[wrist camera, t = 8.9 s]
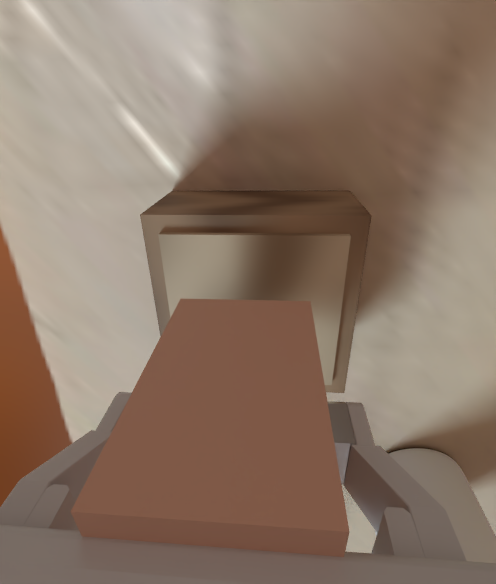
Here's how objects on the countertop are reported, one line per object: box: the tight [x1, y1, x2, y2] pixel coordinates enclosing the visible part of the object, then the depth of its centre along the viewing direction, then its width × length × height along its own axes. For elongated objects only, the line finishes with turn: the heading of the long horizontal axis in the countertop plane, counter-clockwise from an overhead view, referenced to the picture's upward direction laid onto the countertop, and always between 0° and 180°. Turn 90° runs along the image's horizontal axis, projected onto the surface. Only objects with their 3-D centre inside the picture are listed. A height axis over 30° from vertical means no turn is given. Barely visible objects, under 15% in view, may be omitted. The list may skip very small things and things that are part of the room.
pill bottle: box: [375, 448, 496, 563], centre depth 23 cm, size 8×8×15 cm
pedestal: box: [140, 191, 371, 393], centre depth 19 cm, size 10×10×5 cm
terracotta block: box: [71, 298, 349, 557], centre depth 11 cm, size 5×5×8 cm
